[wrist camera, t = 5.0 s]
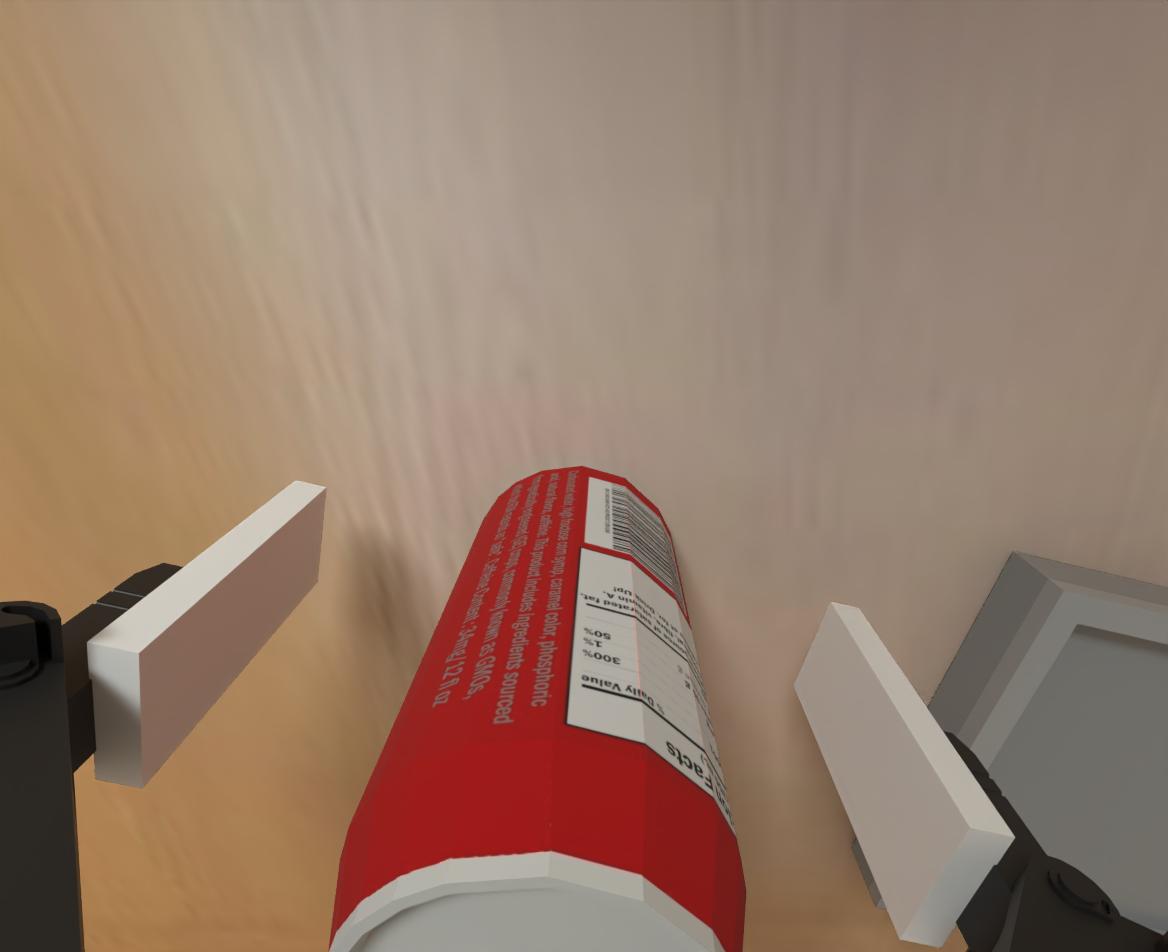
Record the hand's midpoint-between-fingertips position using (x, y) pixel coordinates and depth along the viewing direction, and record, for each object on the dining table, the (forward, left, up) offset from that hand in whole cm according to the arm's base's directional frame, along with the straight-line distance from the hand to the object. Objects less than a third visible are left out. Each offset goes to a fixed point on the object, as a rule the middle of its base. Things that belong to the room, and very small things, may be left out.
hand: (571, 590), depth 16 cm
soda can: (0, 0, -2) cm, 2 cm away
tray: (+18, -3, -2) cm, 18 cm away
